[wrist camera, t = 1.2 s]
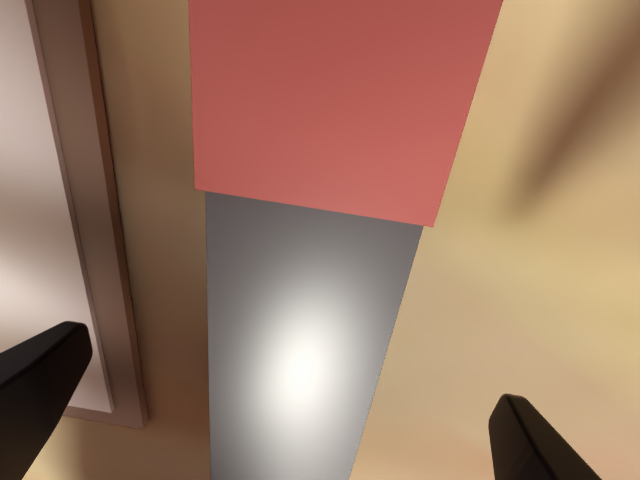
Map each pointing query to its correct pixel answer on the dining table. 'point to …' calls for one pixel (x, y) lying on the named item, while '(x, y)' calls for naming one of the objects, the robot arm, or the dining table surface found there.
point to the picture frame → (63, 204)
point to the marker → (317, 206)
